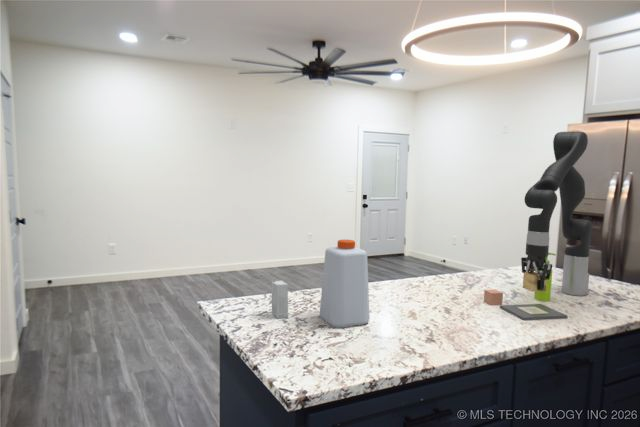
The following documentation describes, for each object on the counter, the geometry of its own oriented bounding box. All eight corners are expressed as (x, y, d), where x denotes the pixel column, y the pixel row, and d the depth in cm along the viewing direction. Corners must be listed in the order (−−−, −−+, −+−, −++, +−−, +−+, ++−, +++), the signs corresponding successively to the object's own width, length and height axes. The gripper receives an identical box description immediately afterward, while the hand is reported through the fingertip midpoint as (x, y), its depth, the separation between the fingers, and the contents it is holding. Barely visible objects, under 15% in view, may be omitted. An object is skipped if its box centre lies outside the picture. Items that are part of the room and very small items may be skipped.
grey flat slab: (540, 306, 165) (540, 303, 165) (567, 318, 151) (567, 315, 151) (499, 307, 161) (499, 305, 161) (523, 320, 148) (523, 317, 147)
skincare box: (288, 317, 145) (289, 284, 144) (276, 319, 143) (277, 285, 142) (282, 312, 151) (282, 279, 150) (270, 313, 149) (271, 281, 148)
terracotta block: (494, 301, 170) (495, 289, 170) (502, 305, 165) (502, 292, 165) (483, 301, 169) (484, 289, 169) (490, 305, 164) (491, 293, 164)
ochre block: (535, 287, 158) (536, 272, 158) (545, 291, 153) (547, 275, 152) (522, 287, 157) (523, 272, 157) (532, 291, 152) (533, 275, 151)
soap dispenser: (554, 302, 170) (558, 254, 169) (536, 300, 172) (540, 253, 170) (549, 298, 176) (553, 252, 174) (532, 296, 178) (535, 251, 176)
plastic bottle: (315, 315, 148) (317, 238, 146) (353, 310, 154) (355, 236, 152) (333, 330, 134) (335, 245, 132) (374, 324, 140) (376, 243, 138)
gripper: (560, 246, 147) (557, 292, 149) (533, 240, 161) (530, 282, 163) (542, 246, 146) (539, 293, 147) (515, 240, 160) (513, 283, 161)
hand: (534, 287), depth 155 cm, fingers closed on ochre block, 5 cm apart
